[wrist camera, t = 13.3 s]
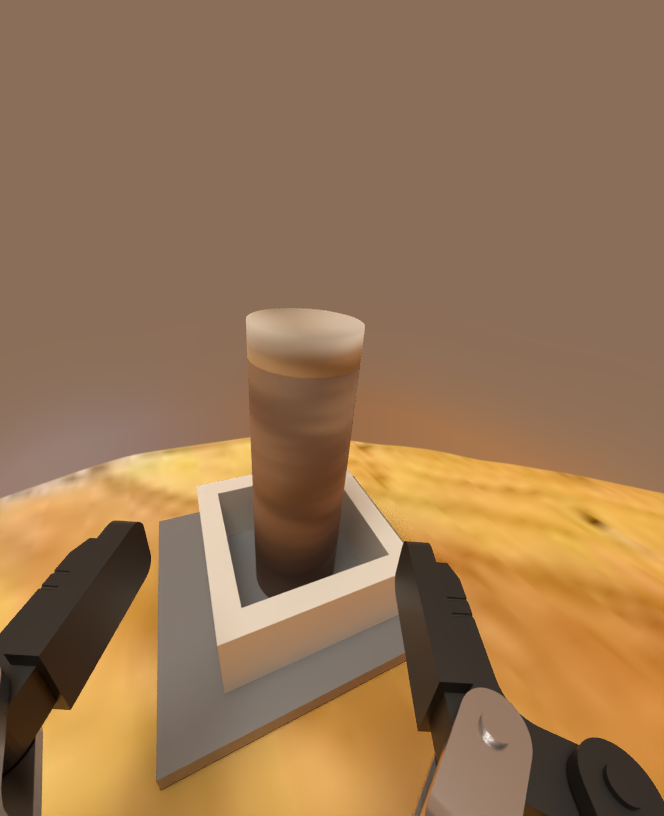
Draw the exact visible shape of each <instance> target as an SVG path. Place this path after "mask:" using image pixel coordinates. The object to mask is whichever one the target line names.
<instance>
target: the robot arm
mask: <svg viewBox="0 0 664 816" xmlns="http://www.w3.org/2000/svg"><path fill="white" fill-rule="evenodd" d="M150 564H151V554H150V550H149V546H148V542H147V538H146V534H145V530H144V526H143V524H142V523H141V522H130V521H112V522H111V523H109V524H108V525H107V527H106V528H105V529H104V530H103V532H102V533H101V534H100V535H99V536H98V538H89V539H88V540H86V541H85V542H84V543H82V544H81V545H80V546H78V547H77V548H75V549H74V550H73V551H71V552H70V553H69V554H68V555H67V556H66V558H65V559H64V560H63V561H62V562H61V563H60V565H59V566H58V567H57V568H56V569H55V572H54V573H53V574H51V575H50V576H49V577H48V578H47V580H46V581H45V582H44V583H43V584H42V587H41V589H38V590H37V591H36V592H35V594H34V595H33V596H32V597H31V598H30V599H29V601H28V602H27V603H26V604H25V605H24V606H23V608H22V609H21V610H20V611H19V612H18V613H17V614H16V616H15V617H14V618H13V619H12V620H11V621H10V623H9V624H8V625H7V626H6V627H5V628H4V630H3V631H2V632H1V633H0V816H41V804H42V753H43V729H42V725H43V723H44V721H45V720H46V718H47V717H48V715H49V713H50V712H51V710H52V709H64V710H71V708H72V707H73V705H74V703H75V701H76V700H77V698H78V696H79V694H80V693H81V691H82V689H83V687H84V686H85V684H86V682H87V680H88V679H89V677H90V675H91V673H92V672H93V670H94V668H95V666H96V665H97V663H98V661H99V659H100V658H101V656H102V654H103V652H104V651H105V649H106V647H107V645H108V643H109V642H110V640H111V638H112V636H113V635H114V633H115V631H116V629H117V628H118V626H119V624H120V622H121V621H122V619H123V617H124V615H125V614H126V612H127V610H128V608H129V607H130V605H131V603H132V601H133V600H134V598H135V596H136V594H137V593H138V591H139V589H140V587H141V586H142V584H143V582H144V580H145V579H146V577H147V574H148V572H149V568H150ZM395 595H396V601H397V607H398V613H399V619H400V626H401V632H402V638H403V644H404V650H405V656H406V662H407V668H408V674H409V680H410V686H411V692H412V698H413V704H414V710H415V717H416V723H417V729H418V731H424V732H431V734H432V740H433V745H434V750H435V753H434V755H433V758H432V761H431V764H430V766H429V769H428V772H427V775H426V777H425V780H424V783H423V786H422V788H421V791H420V794H419V797H418V799H417V802H416V805H415V808H414V810H413V813H412V816H664V801H663V799H662V797H661V795H660V793H659V792H658V790H657V788H656V787H655V785H654V783H653V782H652V780H651V779H650V778H649V776H648V775H647V774H646V772H645V771H644V770H643V769H642V768H641V766H640V765H639V764H638V763H637V762H636V761H635V760H634V759H633V758H632V757H631V756H630V755H628V754H627V753H626V752H625V751H624V750H622V749H621V748H619V747H618V746H616V745H615V744H613V743H611V742H609V741H607V740H604V739H601V738H588V739H586V740H584V741H583V742H582V743H581V744H580V745H578V744H575V743H573V742H571V741H569V740H567V739H564V738H562V737H560V736H558V735H556V734H553V733H551V732H549V731H547V730H544V729H542V728H540V727H538V726H536V725H534V724H533V723H531V722H530V721H528V720H527V719H525V718H524V717H523V716H522V715H521V714H519V712H518V711H517V710H516V709H515V707H514V706H513V705H512V704H511V703H510V702H509V701H508V700H507V699H506V697H505V696H504V694H503V693H502V691H501V689H500V687H499V685H498V683H497V681H496V678H495V675H494V672H493V670H492V667H491V664H490V661H489V659H488V656H487V653H486V650H485V648H484V645H483V642H482V639H481V637H480V634H479V631H478V628H477V626H476V623H475V620H474V618H473V617H472V612H471V609H470V606H469V604H468V602H467V600H466V595H465V593H464V590H463V587H462V584H461V581H460V579H459V578H458V576H457V575H456V574H455V573H454V571H453V570H452V569H451V567H450V566H449V565H448V564H447V563H439V562H436V560H435V557H434V554H433V551H432V548H431V545H430V544H429V543H423V542H408V541H404V543H403V545H402V549H401V553H400V557H399V561H398V565H397V569H396V573H395Z"/></svg>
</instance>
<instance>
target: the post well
mask: <svg viewBox="0 0 664 816" xmlns="http://www.w3.org/2000/svg"><path fill="white" fill-rule="evenodd" d="M196 487H197V495H198V502H199V510H200V512H198V513H194V514H190V515H185V516H181V517H177V518H173V519H169V520H164V521H160V522H159V587H158V679H157V770H156V781H157V783H158V786H159V788H160V790H162V789H164V788H165V787H167V786H169V785H171V784H173V783H175V782H177V781H179V780H181V779H182V778H184V777H186V776H188V775H190V774H192V773H194V772H196V771H198V770H200V769H201V768H203V767H205V766H207V765H209V764H211V763H213V762H215V761H217V760H218V759H220V758H222V757H224V756H226V755H228V754H230V753H232V752H234V751H235V750H237V749H239V748H241V747H243V746H245V745H247V744H249V743H251V742H253V741H254V740H256V739H258V738H260V737H262V736H264V735H266V734H268V733H270V732H271V731H273V730H275V729H277V728H279V727H281V726H283V725H285V724H287V723H288V722H290V721H292V720H294V719H296V718H298V717H300V716H302V715H304V714H306V713H307V712H309V711H311V710H313V709H315V708H317V707H319V706H321V705H323V704H324V703H326V702H328V701H330V700H332V699H334V698H336V697H338V696H340V695H341V694H343V693H345V692H347V691H349V690H351V689H353V688H355V687H357V686H358V685H360V684H362V683H364V682H366V681H368V680H370V679H372V678H374V677H376V676H377V675H379V674H381V673H383V672H385V671H387V670H389V669H391V668H393V667H394V666H396V665H398V664H400V663H402V662H404V661H406V656H405V650H404V644H403V638H402V632H401V626H400V619H399V613H398V607H397V601H396V595H395V573H396V569H397V565H398V561H399V557H400V553H401V549H402V545H403V543H404V542H403V540H402V539H401V538H400V537H399V535H398V534H397V533H396V531H395V530H394V529H393V527H392V526H391V525H390V523H389V522H388V521H387V519H386V518H385V517H384V516H383V514H382V513H381V512H380V510H379V509H378V508H377V506H376V505H375V504H374V502H373V501H372V500H371V498H370V497H369V496H368V495H367V493H366V492H365V491H364V489H363V488H362V487H361V485H360V484H359V483H358V481H357V480H356V479H355V477H354V476H352V475H351V474H350V472H349V471H348V470H347V471H346V479H345V487H344V494H343V502H342V510H341V518H340V526H339V534H338V541H337V549H336V557H335V565H334V573H333V575H332V576H329V577H326V578H323V579H320V580H318V581H315V582H312V583H309V584H307V585H304V586H301V587H298V588H296V589H293V590H290V591H287V592H285V593H282V594H279V595H276V596H274V597H271V598H269V597H267V596H266V595H265V594H264V592H263V591H262V590H261V588H260V586H259V584H258V581H257V577H256V557H255V531H254V506H253V481H252V475H247V476H242V477H238V478H233V479H228V480H223V481H218V482H213V483H208V484H204V485H199V486H196Z"/></svg>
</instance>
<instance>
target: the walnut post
mask: <svg viewBox="0 0 664 816" xmlns="http://www.w3.org/2000/svg"><path fill="white" fill-rule="evenodd" d="M246 329H247V330H246V331H247V355H248V381H249V405H250V430H251V456H252V481H253V506H254V531H255V557H256V577H257V581H258V584H259V586H260V588H261V590H262V591H263V592H264V594H265V595H266V596H267V597H269V598H271V597H274V596H276V595H279V594H282V593H285V592H287V591H290V590H293V589H296V588H298V587H301V586H304V585H307V584H309V583H312V582H315V581H318V580H320V579H323V578H326V577H329V576H332V575H333V573H334V565H335V557H336V549H337V541H338V534H339V526H340V518H341V510H342V502H343V494H344V487H345V479H346V471H347V463H348V455H349V447H350V440H351V431H352V424H353V416H354V407H355V401H356V392H357V385H358V377H359V369H360V361H361V354H362V346H363V337H364V330H365V325H364V324H363V322H361V321H359V320H358V319H356V318H353V317H351V316H347V315H344V314H340V313H335V312H330V311H324V310H315V309H304V308H302V309H301V308H278V309H267V310H261V311H257V312H253V313H251V314H249V315H248V316H247V317H246Z"/></svg>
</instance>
